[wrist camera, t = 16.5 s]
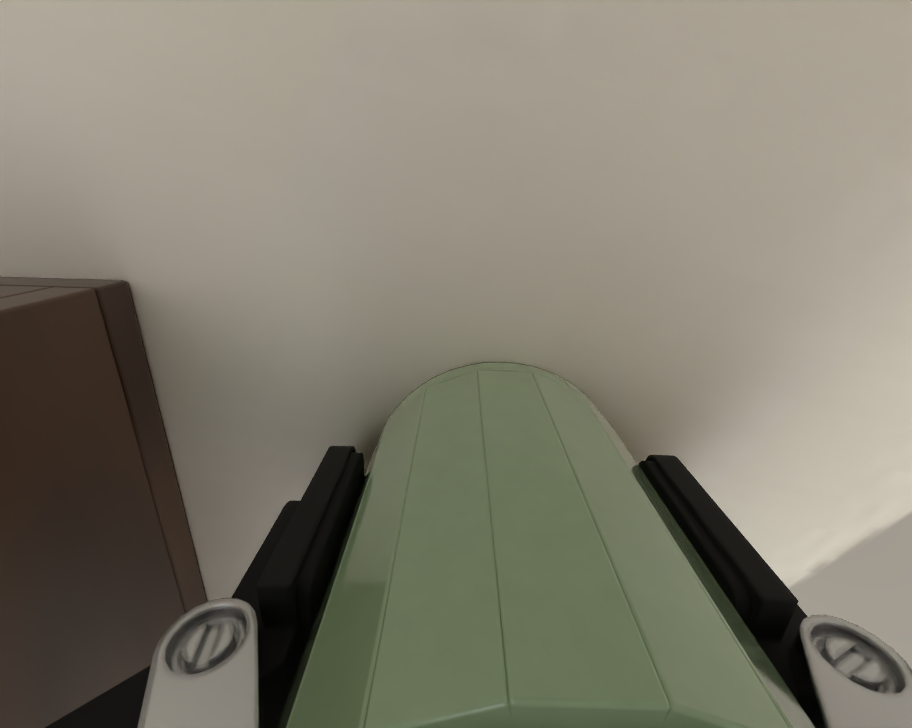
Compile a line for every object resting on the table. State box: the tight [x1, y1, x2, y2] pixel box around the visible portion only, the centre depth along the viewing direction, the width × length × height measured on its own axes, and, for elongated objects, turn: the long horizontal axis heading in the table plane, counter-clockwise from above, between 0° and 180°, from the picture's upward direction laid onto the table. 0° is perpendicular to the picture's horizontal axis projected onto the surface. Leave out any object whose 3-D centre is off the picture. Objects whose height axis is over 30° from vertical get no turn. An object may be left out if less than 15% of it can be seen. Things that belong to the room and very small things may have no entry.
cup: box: [277, 362, 815, 728], centre depth 8 cm, size 6×6×8 cm
